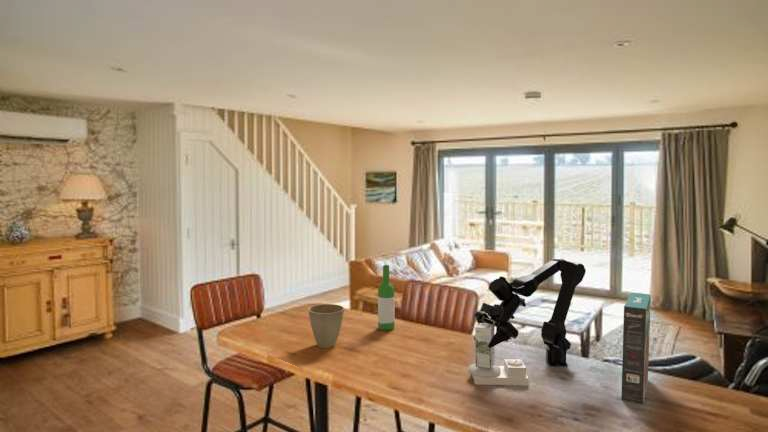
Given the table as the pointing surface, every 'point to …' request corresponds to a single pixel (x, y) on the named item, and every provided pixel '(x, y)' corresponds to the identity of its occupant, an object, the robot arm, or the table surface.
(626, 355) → the cake mix box
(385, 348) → the table surface
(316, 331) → the plant pot
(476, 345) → the syrup box
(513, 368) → the scale
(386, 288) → the wine bottle
